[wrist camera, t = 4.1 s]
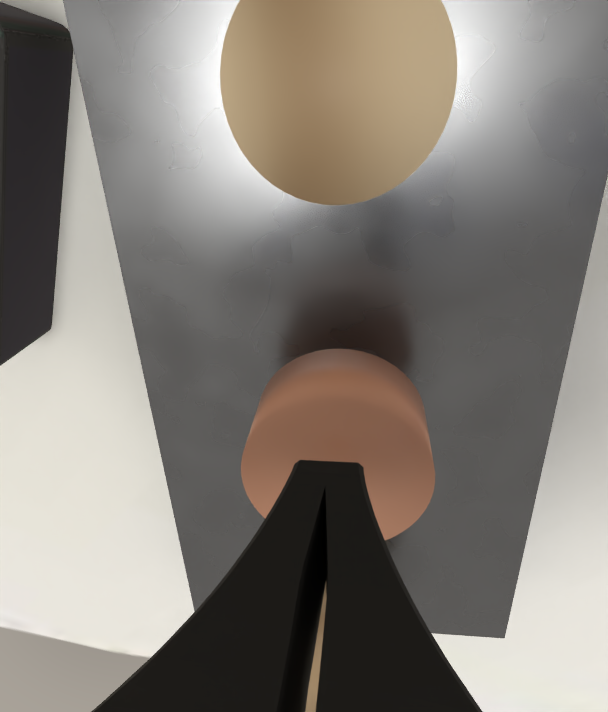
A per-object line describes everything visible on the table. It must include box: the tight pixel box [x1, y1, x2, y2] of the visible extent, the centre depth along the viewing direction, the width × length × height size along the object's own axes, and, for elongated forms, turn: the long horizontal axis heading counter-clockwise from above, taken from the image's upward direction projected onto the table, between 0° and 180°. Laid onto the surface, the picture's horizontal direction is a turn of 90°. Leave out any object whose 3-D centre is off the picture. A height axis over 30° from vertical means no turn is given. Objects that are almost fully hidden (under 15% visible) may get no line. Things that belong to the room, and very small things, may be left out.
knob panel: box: [63, 0, 608, 638], centre depth 19 cm, size 14×26×2 cm, turn 2°
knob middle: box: [241, 349, 435, 540], centre depth 15 cm, size 5×5×2 cm
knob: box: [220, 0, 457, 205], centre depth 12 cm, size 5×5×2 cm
